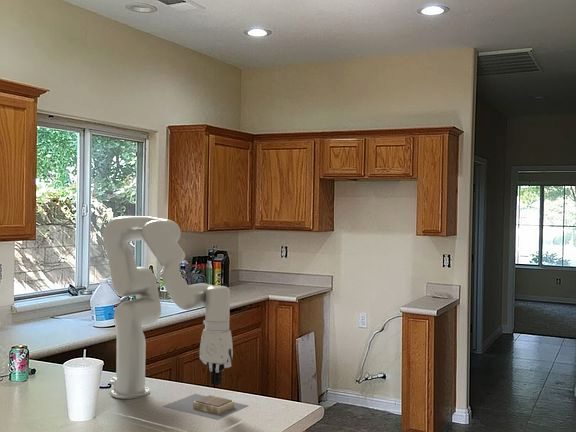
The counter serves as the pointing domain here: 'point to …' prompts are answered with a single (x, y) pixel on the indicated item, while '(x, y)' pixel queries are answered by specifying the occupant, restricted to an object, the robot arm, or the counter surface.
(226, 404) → the birch tile
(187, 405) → the rubber mat
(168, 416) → the counter surface
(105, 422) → the counter surface
